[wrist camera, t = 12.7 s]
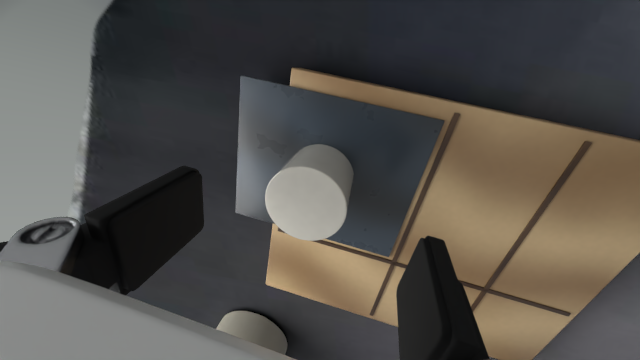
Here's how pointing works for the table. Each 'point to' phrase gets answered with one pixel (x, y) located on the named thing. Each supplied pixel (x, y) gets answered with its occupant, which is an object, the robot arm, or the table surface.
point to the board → (446, 202)
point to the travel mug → (254, 330)
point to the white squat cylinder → (311, 193)
